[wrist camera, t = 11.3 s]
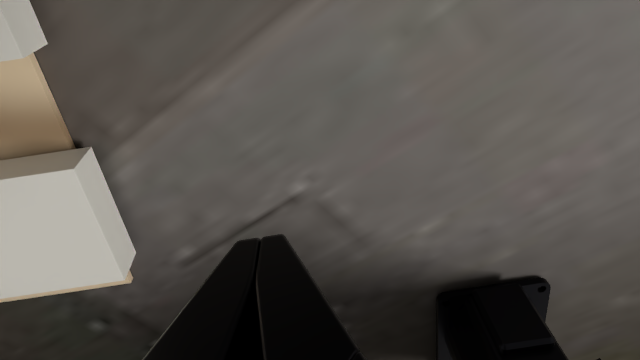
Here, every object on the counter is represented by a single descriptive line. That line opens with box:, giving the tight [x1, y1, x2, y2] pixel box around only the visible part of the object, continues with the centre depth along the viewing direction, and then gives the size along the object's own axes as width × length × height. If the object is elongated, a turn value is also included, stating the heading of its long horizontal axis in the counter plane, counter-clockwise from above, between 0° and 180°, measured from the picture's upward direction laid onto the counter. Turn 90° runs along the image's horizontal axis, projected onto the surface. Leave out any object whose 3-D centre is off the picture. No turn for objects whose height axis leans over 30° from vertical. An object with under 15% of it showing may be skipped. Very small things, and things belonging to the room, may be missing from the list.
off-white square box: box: [0, 147, 136, 299], centre depth 21 cm, size 6×2×7 cm
